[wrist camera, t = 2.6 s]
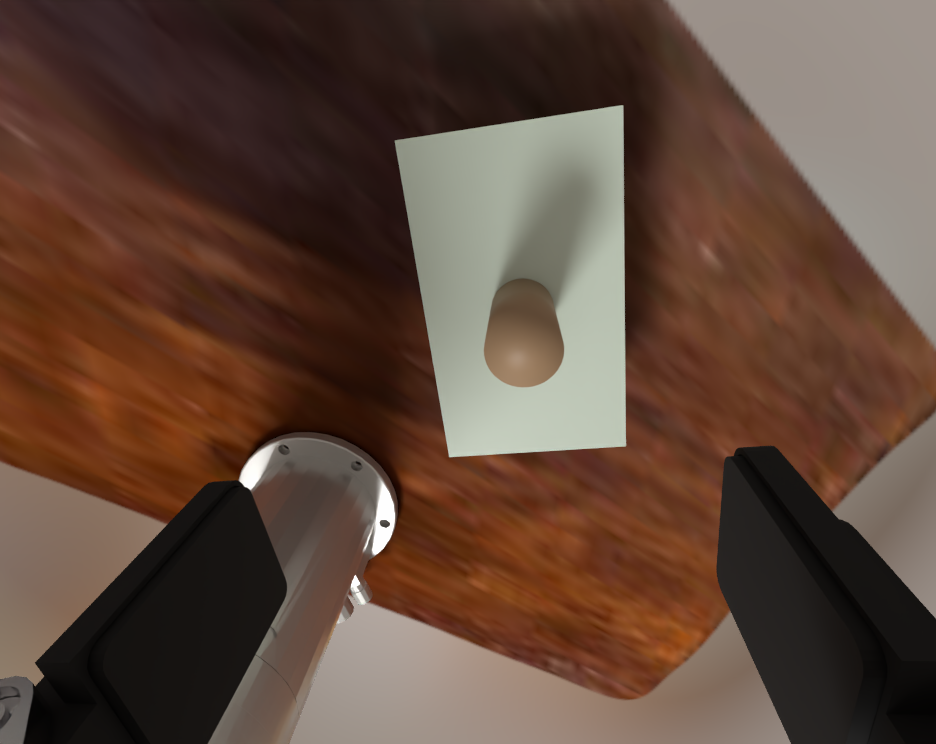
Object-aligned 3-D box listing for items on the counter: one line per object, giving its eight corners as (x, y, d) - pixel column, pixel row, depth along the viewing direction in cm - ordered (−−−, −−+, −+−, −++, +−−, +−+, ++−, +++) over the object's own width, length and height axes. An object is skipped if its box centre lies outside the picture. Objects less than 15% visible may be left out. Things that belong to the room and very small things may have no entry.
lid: (622, 436, 28) (652, 517, 22) (451, 447, 30) (433, 526, 23) (618, 107, 22) (660, 84, 15) (399, 141, 23) (354, 133, 17)
